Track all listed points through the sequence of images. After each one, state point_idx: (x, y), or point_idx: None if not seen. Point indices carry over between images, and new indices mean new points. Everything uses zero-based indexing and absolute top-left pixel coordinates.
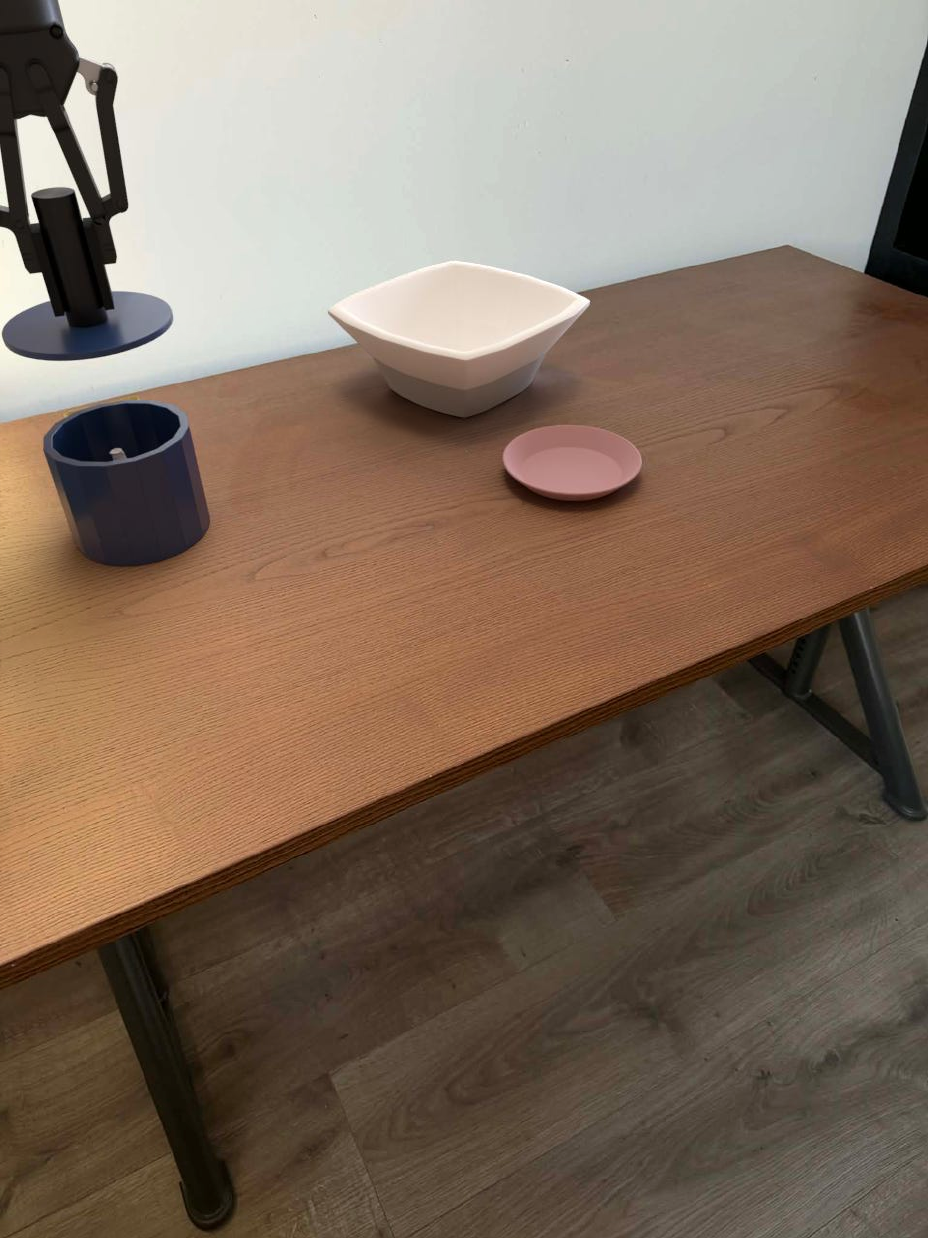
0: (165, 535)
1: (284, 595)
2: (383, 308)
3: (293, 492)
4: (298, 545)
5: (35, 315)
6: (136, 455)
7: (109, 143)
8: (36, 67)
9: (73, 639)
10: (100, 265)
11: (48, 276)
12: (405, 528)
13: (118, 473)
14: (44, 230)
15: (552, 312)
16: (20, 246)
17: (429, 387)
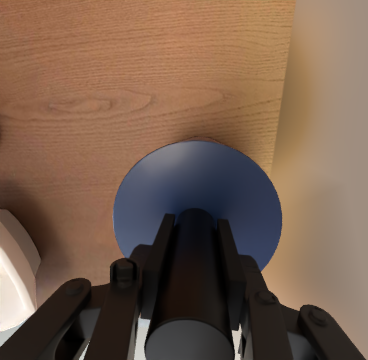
0: (189, 138)
1: (139, 73)
2: (4, 310)
3: (115, 174)
4: (122, 119)
5: None
6: None
7: None
8: None
9: (251, 82)
10: (159, 237)
11: (228, 241)
12: (63, 110)
13: (206, 140)
14: (222, 287)
15: None
16: (261, 280)
17: (9, 228)
